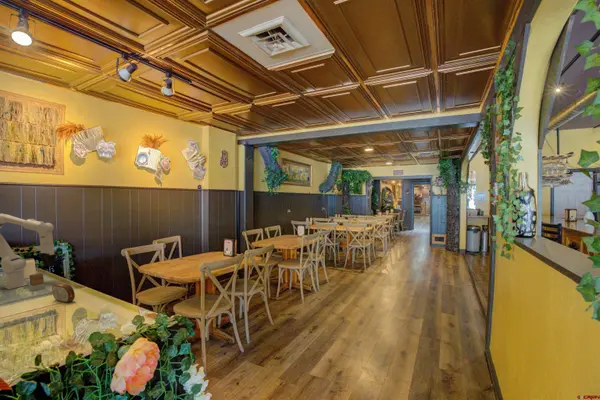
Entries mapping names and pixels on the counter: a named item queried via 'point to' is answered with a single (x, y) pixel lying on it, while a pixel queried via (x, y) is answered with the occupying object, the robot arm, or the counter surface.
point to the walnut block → (36, 279)
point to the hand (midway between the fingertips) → (48, 265)
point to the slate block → (37, 287)
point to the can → (29, 268)
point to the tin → (63, 292)
